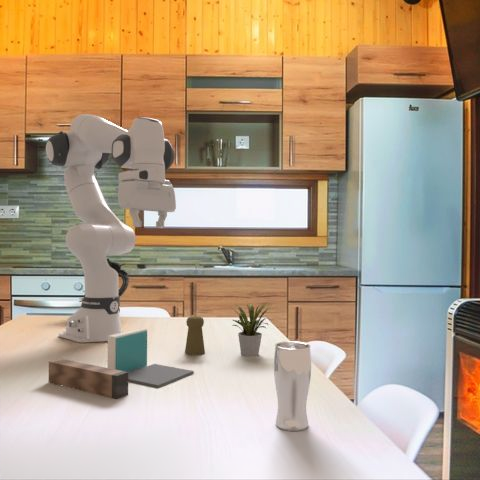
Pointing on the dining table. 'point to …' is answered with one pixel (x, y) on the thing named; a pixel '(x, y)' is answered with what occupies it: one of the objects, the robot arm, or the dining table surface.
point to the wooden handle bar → (89, 378)
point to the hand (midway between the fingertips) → (149, 227)
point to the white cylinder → (122, 274)
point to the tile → (128, 350)
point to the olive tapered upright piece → (195, 336)
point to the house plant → (250, 330)
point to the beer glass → (292, 384)
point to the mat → (157, 375)
